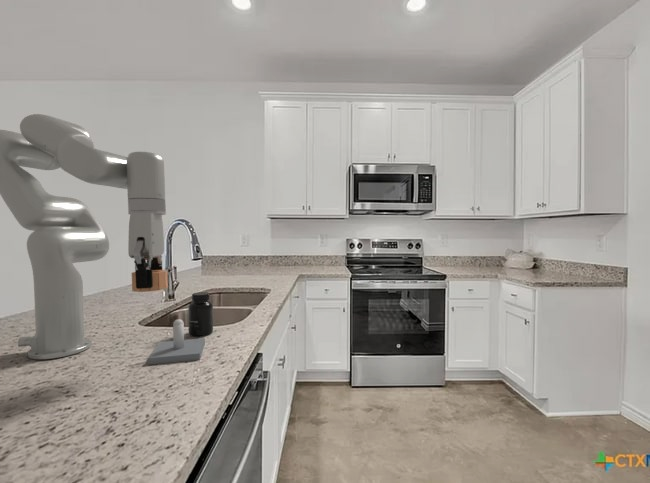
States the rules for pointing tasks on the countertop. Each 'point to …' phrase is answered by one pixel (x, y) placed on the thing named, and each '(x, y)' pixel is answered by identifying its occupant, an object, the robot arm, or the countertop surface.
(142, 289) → the ring
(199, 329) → the supplement bottle
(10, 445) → the countertop surface
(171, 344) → the post block
